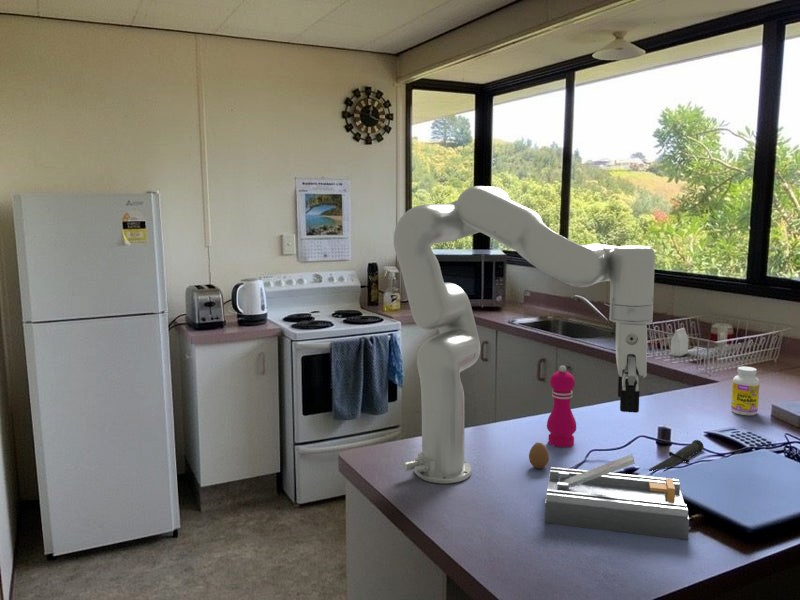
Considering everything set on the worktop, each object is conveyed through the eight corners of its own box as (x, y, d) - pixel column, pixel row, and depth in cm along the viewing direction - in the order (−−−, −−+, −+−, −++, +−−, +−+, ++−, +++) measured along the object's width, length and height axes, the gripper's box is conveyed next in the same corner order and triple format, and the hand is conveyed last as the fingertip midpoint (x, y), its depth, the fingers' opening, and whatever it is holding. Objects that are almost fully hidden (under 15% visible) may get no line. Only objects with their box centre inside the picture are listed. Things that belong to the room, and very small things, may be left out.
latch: (650, 501, 120) (650, 486, 119) (648, 491, 124) (648, 476, 123) (674, 504, 118) (675, 488, 118) (671, 493, 123) (672, 478, 122)
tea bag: (687, 353, 251) (689, 328, 250) (679, 356, 247) (680, 331, 246) (678, 352, 254) (679, 327, 253) (670, 354, 250) (671, 329, 248)
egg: (538, 473, 143) (538, 448, 142) (524, 467, 147) (524, 442, 146) (552, 469, 145) (553, 443, 144) (538, 462, 149) (539, 437, 148)
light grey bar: (561, 492, 125) (558, 487, 125) (562, 485, 128) (559, 480, 128) (635, 464, 120) (632, 459, 120) (634, 458, 123) (631, 453, 123)
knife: (691, 444, 157) (697, 436, 155) (706, 458, 154) (713, 451, 153) (630, 468, 143) (637, 460, 142) (646, 485, 140) (652, 477, 139)
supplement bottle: (732, 414, 180) (734, 370, 178) (729, 407, 186) (732, 364, 184) (759, 417, 177) (762, 372, 175) (755, 410, 183) (758, 366, 181)
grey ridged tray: (544, 522, 121) (545, 491, 120) (549, 490, 134) (549, 462, 133) (688, 540, 114) (689, 507, 113) (678, 504, 127) (679, 475, 126)
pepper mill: (577, 449, 157) (579, 369, 154) (546, 447, 158) (548, 368, 155) (575, 438, 164) (576, 362, 161) (546, 436, 165) (547, 361, 162)
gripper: (657, 322, 109) (653, 420, 111) (648, 306, 125) (645, 392, 128) (610, 320, 111) (608, 417, 113) (608, 305, 127) (605, 390, 130)
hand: (627, 403), depth 120 cm, fingers open, 8 cm apart
